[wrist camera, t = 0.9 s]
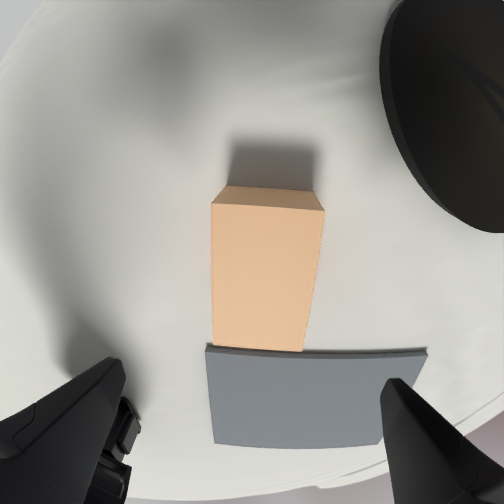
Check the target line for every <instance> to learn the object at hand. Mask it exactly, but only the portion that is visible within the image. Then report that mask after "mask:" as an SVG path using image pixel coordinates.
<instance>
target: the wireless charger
mask: <svg viewBox="0 0 504 504" xmlns="http://www.w3.org/2000/svg"><path fill="white" fill-rule="evenodd" d="M379 71H380V85H381V93H382V99H383V104H384V108H385V112H386V116H387V119H388V123H389V126H390V129H391V132H392V135H393V137H394V140H395V142H396V145H397V147H398V149H399V151H400V153H401V155H402V157H403V159H404V161H405V163H406V165H407V167H408V168H409V170H410V172H411V173H412V175H413V176H414V178H415V179H416V181H417V182H418V183H419V185H420V186H421V187H422V189H423V190H424V191H425V192H426V193H427V194H428V195H429V197H430V198H431V199H432V200H433V201H434V202H435V203H437V204H438V205H439V206H440V207H441V208H443V209H444V210H445V211H447V212H448V213H450V214H451V215H453V216H454V217H456V218H458V219H459V220H461V221H463V222H464V223H466V224H468V225H469V226H471V227H474V228H476V229H478V230H482V231H485V232H490V233H504V1H503V0H403V1H402V2H401V3H400V4H399V5H398V7H397V8H396V9H395V10H394V12H393V13H392V15H391V17H390V19H389V21H388V23H387V25H386V28H385V31H384V34H383V38H382V43H381V49H380V62H379Z"/></svg>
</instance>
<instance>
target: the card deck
mask: <svg viewBox="0 0 504 504" xmlns="http://www.w3.org/2000/svg"><path fill="white" fill-rule="evenodd" d="M324 214H325V211H324V209H323V207H322V206H321V204H320V202H319V201H318V199H317V197H316V196H315V194H314V192H312V191H301V190H289V189H276V188H262V187H246V186H226V187H225V188H224V189H223V190H222V191H221V192H220V194H219V195H218V196H217V197H216V198H215V199H214V201H213V202H212V203H211V284H212V326H213V345H221V346H230V347H241V348H253V349H266V350H281V351H300V352H302V350H303V345H304V340H305V335H306V329H307V324H308V319H309V313H310V308H311V302H312V296H313V290H314V284H315V278H316V271H317V265H318V258H319V251H320V244H321V237H322V230H323V222H324Z"/></svg>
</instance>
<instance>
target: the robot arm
mask: <svg viewBox="0 0 504 504" xmlns="http://www.w3.org/2000/svg"><path fill="white" fill-rule="evenodd" d="M125 380H126V375H125V371H124V368H123V365H122V362H121V360H120V359H119V358H115V357H107V358H105V359H104V360H102V361H101V362H99V363H98V364H96V365H94V366H93V367H91V368H90V369H88V370H86V371H85V372H83V373H82V374H80V375H78V376H77V377H75V378H74V379H72V380H70V381H69V382H67V383H66V384H64V385H62V386H61V387H59V388H58V389H56V390H54V391H53V392H51V393H50V394H48V395H46V396H45V397H43V398H41V399H40V400H38V401H37V402H36V403H33V404H32V405H30V406H28V407H27V408H25V409H23V410H21V411H20V412H18V413H16V414H14V415H12V416H10V417H8V418H6V419H4V420H2V421H0V504H124V502H125V499H126V496H127V491H128V485H129V480H130V475H131V470H132V467H131V466H129V465H125V464H124V463H122V460H123V458H124V455H125V454H126V455H128V454H130V451H131V449H132V446H133V444H134V441H135V439H136V436H137V434H139V433H140V432H141V429H140V426H139V424H138V422H137V420H136V417H135V415H134V413H133V410H132V408H131V405H130V403H129V401H128V400H127V399H126V398H123V397H121V394H122V391H123V387H124V384H125ZM380 406H381V416H382V428H383V437H384V443H385V448H386V453H387V459H388V464H389V470H390V476H391V482H392V488H393V495H394V502H395V504H504V468H503V467H502V466H500V465H499V464H497V463H496V462H495V461H494V460H492V459H491V458H489V457H488V456H486V454H484V453H483V452H482V451H480V450H479V449H478V448H477V447H476V446H475V445H473V444H472V443H471V442H470V441H469V440H468V439H467V438H466V437H465V436H463V435H462V434H461V433H460V432H459V431H458V430H457V429H456V428H455V427H454V426H453V425H451V424H450V423H449V422H448V421H447V420H446V419H445V418H444V417H443V416H442V415H441V414H439V413H438V412H437V411H436V410H435V409H434V408H433V407H432V406H431V405H430V404H429V403H427V402H426V401H425V400H424V399H423V398H422V397H421V396H420V395H419V394H418V393H416V392H415V391H414V390H413V389H412V388H411V387H410V386H409V385H408V384H407V383H406V382H404V381H403V380H402V379H401V378H399V377H393V378H388V379H387V381H386V383H385V385H384V387H383V390H382V392H381V394H380Z"/></svg>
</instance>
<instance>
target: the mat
mask: <svg viewBox="0 0 504 504" xmlns="http://www.w3.org/2000/svg"><path fill="white" fill-rule="evenodd" d="M427 357H428V354H427V352H426V351H416V352H399V353H374V354H307V353H281V352H264V351H249V350H237V349H226V348H215V347H206V350H205V358H206V370H207V380H208V390H209V400H210V409H211V418H212V427H213V435H214V443H216V444H224V445H233V446H244V447H257V448H277V449H323V448H343V447H356V446H366V445H375V444H378V443H379V442H380V440H381V439H382V437H383V428H382V416H381V406H380V394H381V392H382V390H383V387H384V385H385V383H386V381H387V379H388V378H393V377H399V378H401V379H402V380H403V381H404V382H406V383H407V384H408V385H409V386H410V387H411V388H412V387H413V385H414V383H415V381H416V379H417V377H418V375H419V373H420V371H421V369H422V367H423V365H424V363H425V361H426V359H427Z"/></svg>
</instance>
